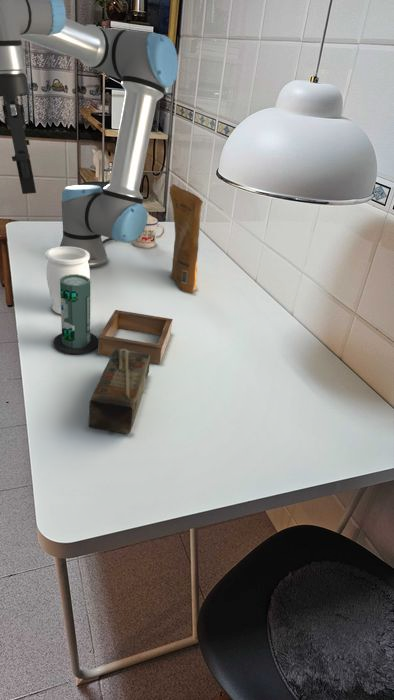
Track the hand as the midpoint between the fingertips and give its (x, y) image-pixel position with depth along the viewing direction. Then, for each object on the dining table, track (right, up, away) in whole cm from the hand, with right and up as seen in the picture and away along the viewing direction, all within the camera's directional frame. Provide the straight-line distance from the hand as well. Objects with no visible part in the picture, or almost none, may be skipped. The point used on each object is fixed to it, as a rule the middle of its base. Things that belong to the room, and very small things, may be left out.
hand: (28, 184), depth 103 cm
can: (+9, -34, +4) cm, 36 cm away
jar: (+4, -26, +19) cm, 32 cm away
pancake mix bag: (+32, -16, +42) cm, 55 cm away
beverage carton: (+22, -46, -11) cm, 52 cm away
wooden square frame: (+23, -35, +8) cm, 42 cm away
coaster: (+9, -35, +5) cm, 36 cm away
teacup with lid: (+19, +2, +69) cm, 72 cm away
